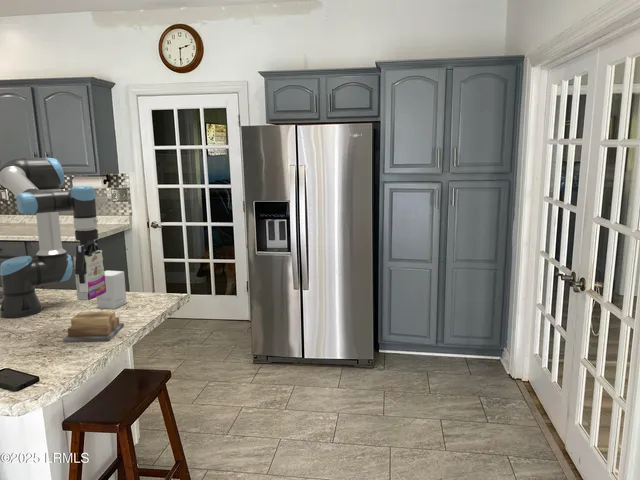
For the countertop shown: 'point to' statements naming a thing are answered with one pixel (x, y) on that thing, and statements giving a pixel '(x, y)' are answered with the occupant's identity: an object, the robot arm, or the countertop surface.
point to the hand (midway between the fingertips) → (91, 287)
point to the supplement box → (113, 290)
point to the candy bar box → (92, 276)
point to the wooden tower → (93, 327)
